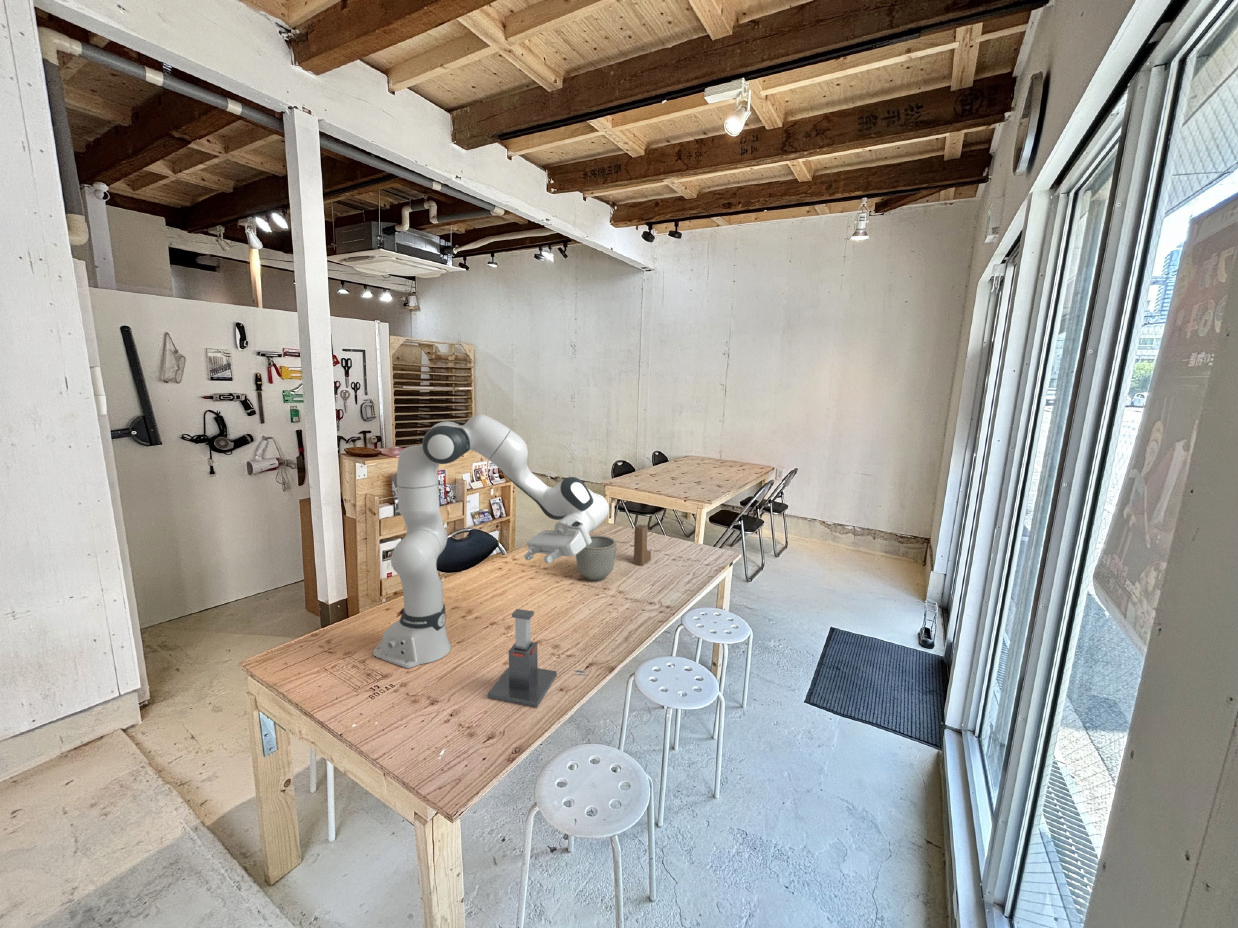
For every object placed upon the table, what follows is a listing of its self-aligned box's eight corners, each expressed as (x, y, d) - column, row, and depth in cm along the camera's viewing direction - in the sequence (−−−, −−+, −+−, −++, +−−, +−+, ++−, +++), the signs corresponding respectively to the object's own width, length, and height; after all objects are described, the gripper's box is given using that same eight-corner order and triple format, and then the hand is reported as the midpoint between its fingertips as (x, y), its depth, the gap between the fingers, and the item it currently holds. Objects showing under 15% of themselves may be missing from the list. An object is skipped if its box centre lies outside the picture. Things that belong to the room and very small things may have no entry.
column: (512, 681, 134) (511, 613, 131) (517, 675, 137) (516, 608, 134) (529, 684, 133) (529, 616, 129) (534, 678, 136) (533, 611, 132)
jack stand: (488, 697, 130) (487, 656, 128) (511, 668, 144) (511, 630, 142) (537, 707, 127) (537, 665, 125) (556, 675, 141) (556, 637, 138)
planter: (614, 586, 201) (615, 549, 198) (572, 585, 201) (573, 547, 198) (616, 570, 218) (616, 535, 215) (577, 568, 218) (577, 534, 215)
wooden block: (642, 558, 233) (643, 521, 230) (651, 560, 231) (652, 523, 227) (633, 564, 225) (634, 526, 222) (641, 566, 223) (643, 528, 220)
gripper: (543, 522, 153) (510, 547, 144) (587, 524, 138) (553, 552, 129) (551, 539, 155) (519, 565, 146) (595, 542, 140) (563, 572, 131)
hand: (535, 559), depth 137 cm, fingers open, 8 cm apart
